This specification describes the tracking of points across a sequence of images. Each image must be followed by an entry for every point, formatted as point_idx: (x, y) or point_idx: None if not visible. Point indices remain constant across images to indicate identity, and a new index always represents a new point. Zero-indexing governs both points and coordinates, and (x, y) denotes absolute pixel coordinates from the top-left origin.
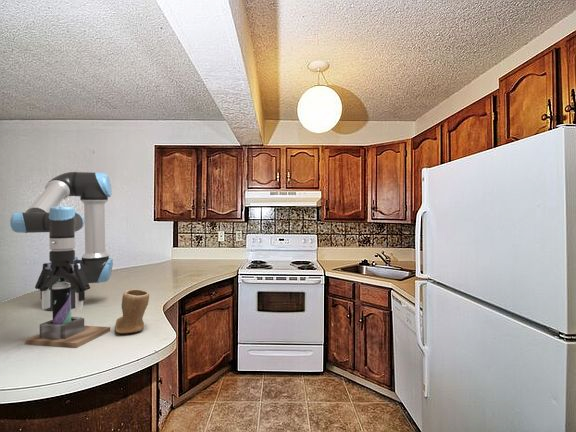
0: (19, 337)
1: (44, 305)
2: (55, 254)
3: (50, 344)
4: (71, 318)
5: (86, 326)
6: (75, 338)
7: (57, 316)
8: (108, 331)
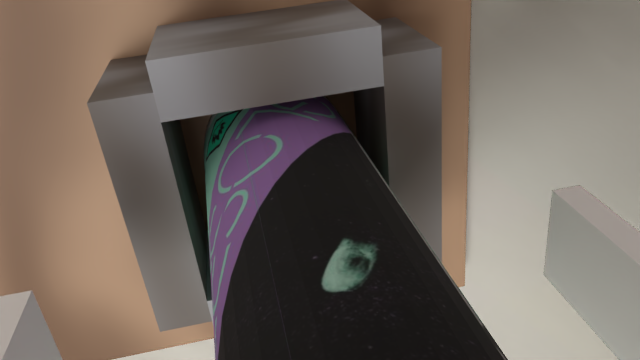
0: (629, 27)
1: (582, 229)
2: None
3: None
4: None
5: None
6: (27, 99)
7: (270, 163)
8: None
